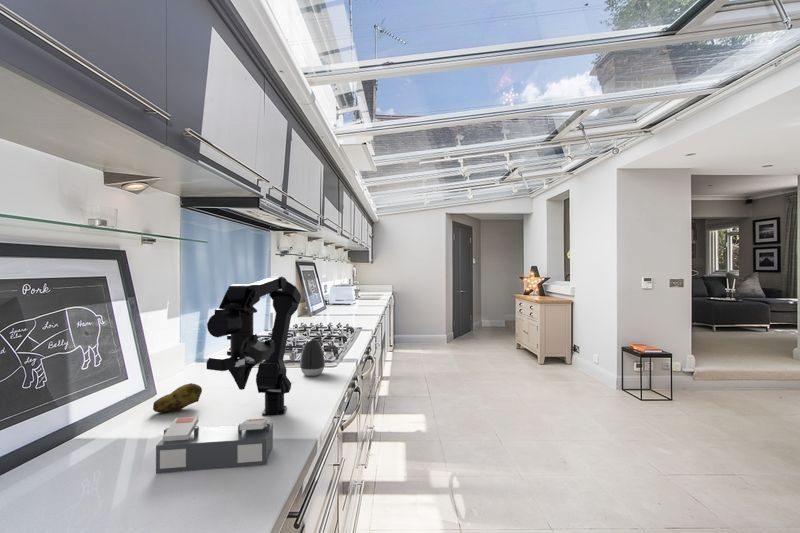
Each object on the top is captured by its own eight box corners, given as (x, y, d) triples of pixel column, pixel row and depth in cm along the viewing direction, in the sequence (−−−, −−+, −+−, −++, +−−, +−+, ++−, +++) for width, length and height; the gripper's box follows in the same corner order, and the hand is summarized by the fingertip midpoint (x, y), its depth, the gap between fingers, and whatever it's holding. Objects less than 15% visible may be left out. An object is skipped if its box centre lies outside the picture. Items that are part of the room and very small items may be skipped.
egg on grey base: (330, 373, 167) (330, 337, 167) (312, 379, 158) (312, 341, 158) (312, 370, 172) (312, 335, 173) (294, 375, 164) (294, 339, 164)
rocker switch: (246, 424, 96) (246, 419, 96) (267, 423, 96) (268, 418, 97) (239, 430, 89) (239, 424, 89) (262, 428, 90) (262, 422, 90)
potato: (161, 407, 127) (162, 382, 127) (204, 404, 129) (204, 380, 129) (150, 416, 118) (150, 389, 119) (195, 413, 121) (195, 387, 121)
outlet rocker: (176, 422, 93) (175, 417, 93) (198, 421, 94) (198, 416, 94) (163, 441, 87) (162, 435, 86) (187, 439, 87) (187, 434, 87)
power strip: (173, 454, 94) (173, 421, 94) (272, 447, 98) (272, 415, 98) (155, 474, 85) (155, 437, 85) (266, 465, 89) (266, 430, 89)
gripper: (239, 338, 94) (239, 404, 94) (288, 327, 112) (288, 383, 112) (204, 335, 98) (204, 398, 98) (257, 326, 116) (257, 379, 116)
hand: (241, 389), depth 106 cm, fingers closed
